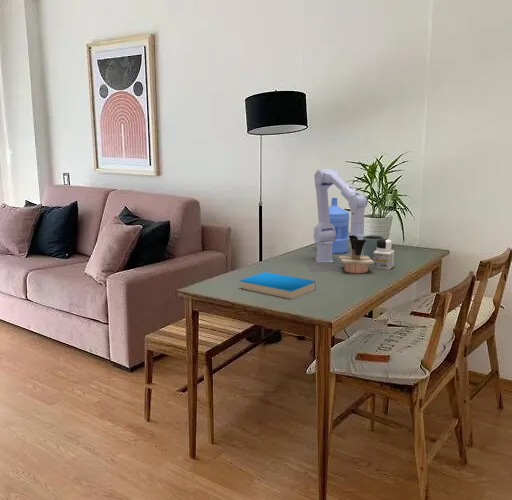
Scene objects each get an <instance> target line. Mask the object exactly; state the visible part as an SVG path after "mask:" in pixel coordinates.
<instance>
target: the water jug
mask: <svg viewBox="0 0 512 500" xmlns="http://www.w3.org/2000/svg"><path fill="white" fill-rule="evenodd" d="M330 203H331V204H330V206H329V217H330V223H331V224H332V225H334V228H335V232H336V239H335V241H334V243H332V255H340V254H345V253H347V252H349V237H348V236H349V234H348V232H349V224H350V213H349V211H348V210H346V209H344V208H343V207H341V206H339V205H338V203H339V202H338V197H331V202H330ZM325 229H327V228H325ZM325 229H322V230H325Z"/></svg>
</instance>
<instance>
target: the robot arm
mask: <svg viewBox="0 0 512 500" xmlns="http://www.w3.org/2000/svg"><path fill="white" fill-rule="evenodd" d="M313 178H314V186H315V187H314V188H315V191H316V192H315V193H316V203H317V204H316V205H317V216H318V217H317V218H318V219H317V220H318V223H317V224H316V226H315V227H314V228H313V230H314V231H313V239H314V243H316V257H315V258H314V259H315V260H316V262H317V263H333V262H335V261H334V260H333V254H332V243H334V241H335V239H336V232H335V228H334V225H332V224H331V223H330V217H329V207H330V206H329V205H330V204H329V194H328V193H329V192H328V190H329V188H330V187H332V186H333V185H334V186H336V188H337V189H339V190H340V194H341V196H342V197H343V198H344V199H345V200H346V201H347V202H348V203H347V204H348V206H349V211H350V231H348V240H349V241H350V246H351V250H352V249H355V254H356V255H360V256H362V251H363V247H364V246H363V245H364V243H365V242H366V240H365V239H363V236H365V231H364V230H365V208H366V207H367V206H368V205H369V204H368V203H369V201H368V197H367V196H366V195H365V194H360V192H359V191H357V190H356V189H355V188H354V186H353V185H351V184H347V183H346V182H345V181H344V179H343V178H342V177H341V176H340V172H339V171H338V170H337V169H336V168H328V169H317V170H316V171H315V173H314V176H313ZM325 228H327V229H325ZM322 229H325V230H322Z"/></svg>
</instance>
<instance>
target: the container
mask: <svg viewBox="0 0 512 500" xmlns="http://www.w3.org/2000/svg"><path fill="white" fill-rule="evenodd" d="M392 244H393V242H392V240H391V239H388V238H385V239H379V240H377V250H376V251H374V252H373V262H374V264H372V269H378V270H385V271H386V270H387V271H388V270H389V271H390V270H391V269H392V268H393V267H394V264H395V263H394V262H395V250H394V249H392Z"/></svg>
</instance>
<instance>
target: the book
mask: <svg viewBox="0 0 512 500" xmlns="http://www.w3.org/2000/svg"><path fill="white" fill-rule="evenodd" d="M239 281H240V289H242V288H243V289H244V290H248V291H252V292H256V293H257V292H258V293H261V294H262V293H263V294H266V295H271V296H275V297H276V296H277V297H279V298H285V299H290V300H293V299H296V298H299V297H300V296H303V295H306V294H307V293H310V292H312V290H313V291H314V289H315V290H316V289H317V288H316V287H317V285H316V281H315V280H311V279H306V278H301V277H295V276H290V275H284V274H278V273H274V272H273V273H272V272H268V271H263V272H261V273H258V274H254V275H252V276H249V277H245V278H243V279H240V280H239ZM305 293H306V294H305Z"/></svg>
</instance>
